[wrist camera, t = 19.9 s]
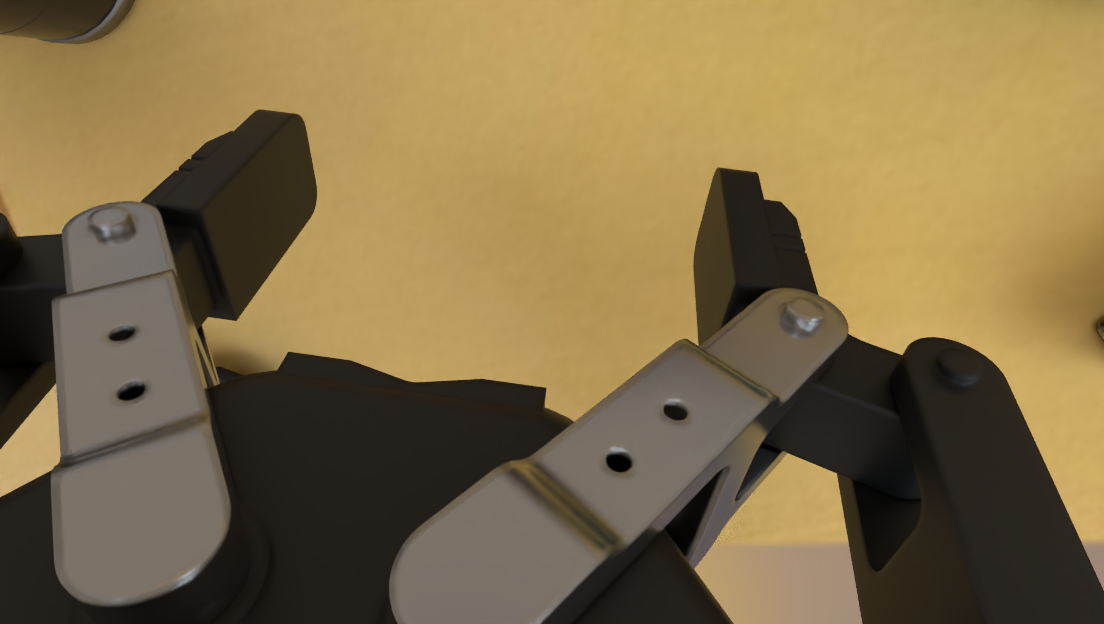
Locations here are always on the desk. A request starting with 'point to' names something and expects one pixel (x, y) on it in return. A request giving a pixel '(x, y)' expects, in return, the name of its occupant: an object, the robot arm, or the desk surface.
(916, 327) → the desk surface
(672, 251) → the desk surface
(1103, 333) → the medication box
